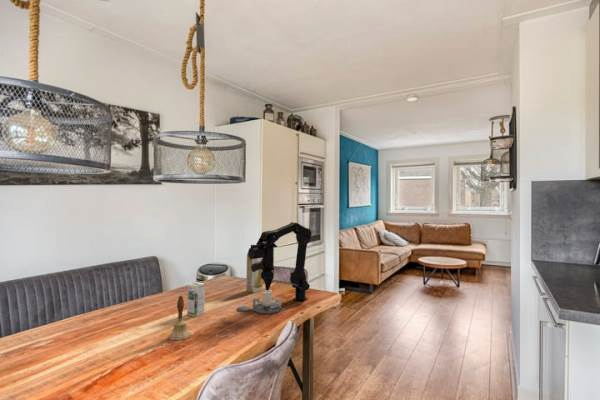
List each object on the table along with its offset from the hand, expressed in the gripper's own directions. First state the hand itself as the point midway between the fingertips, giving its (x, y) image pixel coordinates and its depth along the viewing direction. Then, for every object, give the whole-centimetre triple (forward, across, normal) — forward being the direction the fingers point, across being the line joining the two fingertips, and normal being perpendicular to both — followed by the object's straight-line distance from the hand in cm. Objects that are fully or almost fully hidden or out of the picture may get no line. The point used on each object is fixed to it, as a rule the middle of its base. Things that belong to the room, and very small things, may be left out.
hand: (267, 287), depth 159 cm
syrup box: (+11, +6, -34) cm, 36 cm away
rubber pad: (+11, 0, -12) cm, 16 cm away
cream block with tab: (+8, 0, 0) cm, 8 cm away
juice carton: (+11, -33, -9) cm, 36 cm away
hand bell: (+11, +30, -34) cm, 47 cm away
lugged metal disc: (+11, 0, 0) cm, 11 cm away
